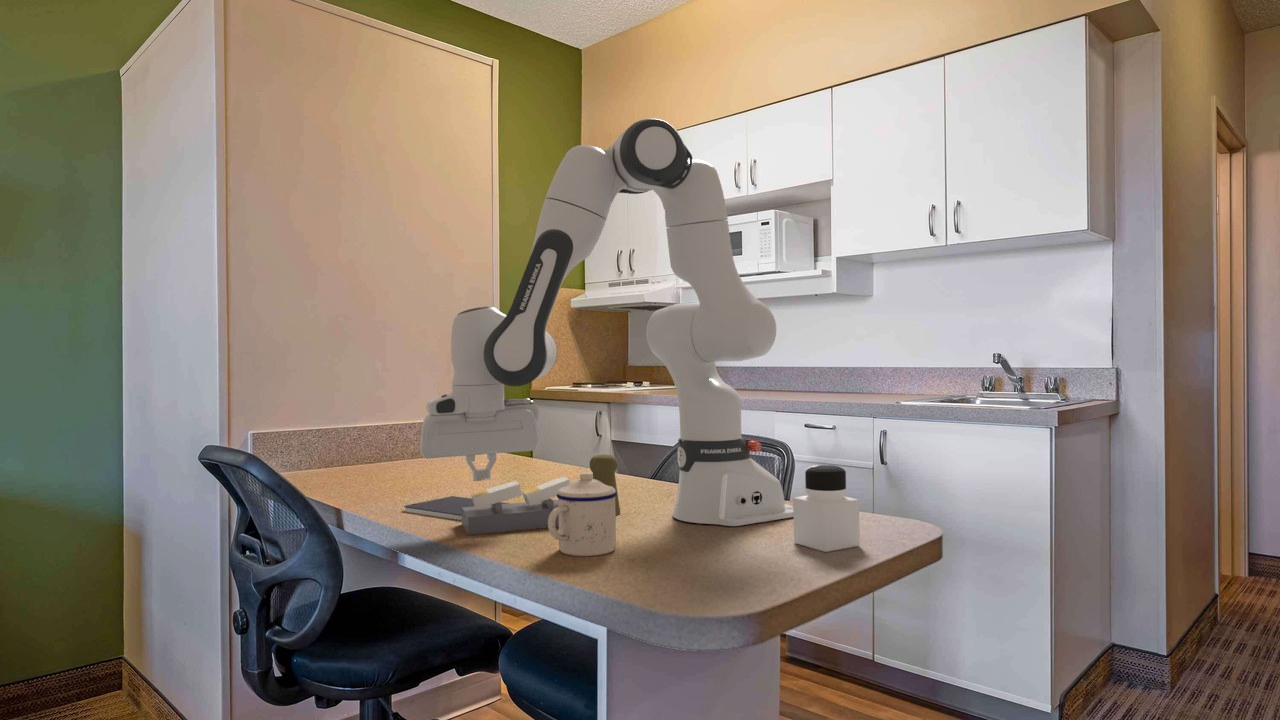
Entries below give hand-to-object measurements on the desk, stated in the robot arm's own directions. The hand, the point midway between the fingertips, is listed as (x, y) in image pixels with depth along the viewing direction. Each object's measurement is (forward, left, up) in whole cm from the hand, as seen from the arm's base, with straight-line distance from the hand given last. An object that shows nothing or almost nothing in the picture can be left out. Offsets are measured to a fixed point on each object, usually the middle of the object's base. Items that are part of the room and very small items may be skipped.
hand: (481, 480), depth 135 cm
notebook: (+1, -16, -9) cm, 19 cm away
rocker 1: (-2, +1, -3) cm, 4 cm away
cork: (-23, -2, -8) cm, 25 cm away
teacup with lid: (-11, +24, -8) cm, 27 cm away
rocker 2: (-12, +1, -4) cm, 12 cm away
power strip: (-10, +1, -8) cm, 13 cm away
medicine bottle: (-47, +35, -8) cm, 59 cm away
